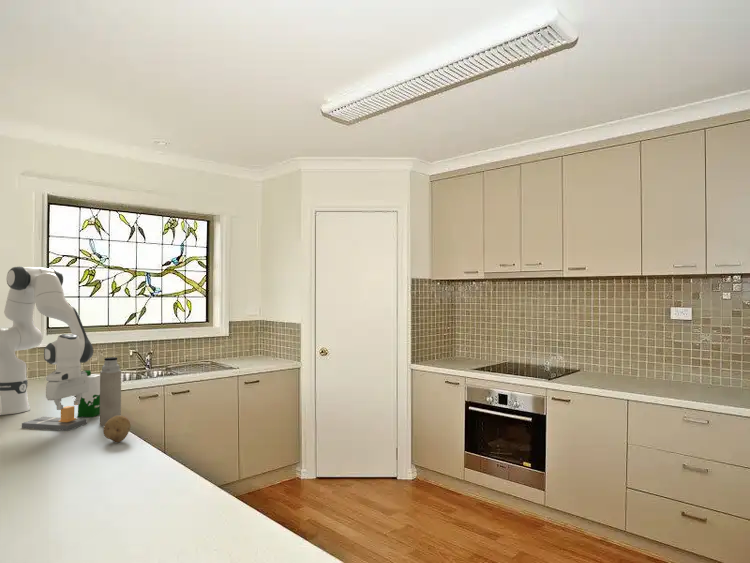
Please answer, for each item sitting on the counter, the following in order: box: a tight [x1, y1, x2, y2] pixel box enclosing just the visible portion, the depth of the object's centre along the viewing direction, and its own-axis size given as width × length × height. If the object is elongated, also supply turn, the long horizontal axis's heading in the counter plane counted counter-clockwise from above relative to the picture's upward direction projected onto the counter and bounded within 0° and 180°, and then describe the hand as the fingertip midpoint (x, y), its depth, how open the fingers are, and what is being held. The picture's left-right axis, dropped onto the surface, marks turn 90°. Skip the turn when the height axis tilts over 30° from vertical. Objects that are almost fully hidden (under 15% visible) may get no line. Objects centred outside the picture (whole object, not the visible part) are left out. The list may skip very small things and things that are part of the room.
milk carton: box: [77, 369, 100, 418], centre depth 236 cm, size 9×9×20 cm
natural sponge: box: [103, 415, 132, 444], centre depth 194 cm, size 9×9×10 cm
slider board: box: [21, 416, 88, 432], centre depth 217 cm, size 21×11×2 cm, turn 80°
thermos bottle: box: [99, 356, 122, 427], centre depth 221 cm, size 8×8×28 cm
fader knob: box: [59, 405, 77, 422], centre depth 216 cm, size 4×5×6 cm
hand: (68, 407), depth 216 cm, fingers open, 8 cm apart
